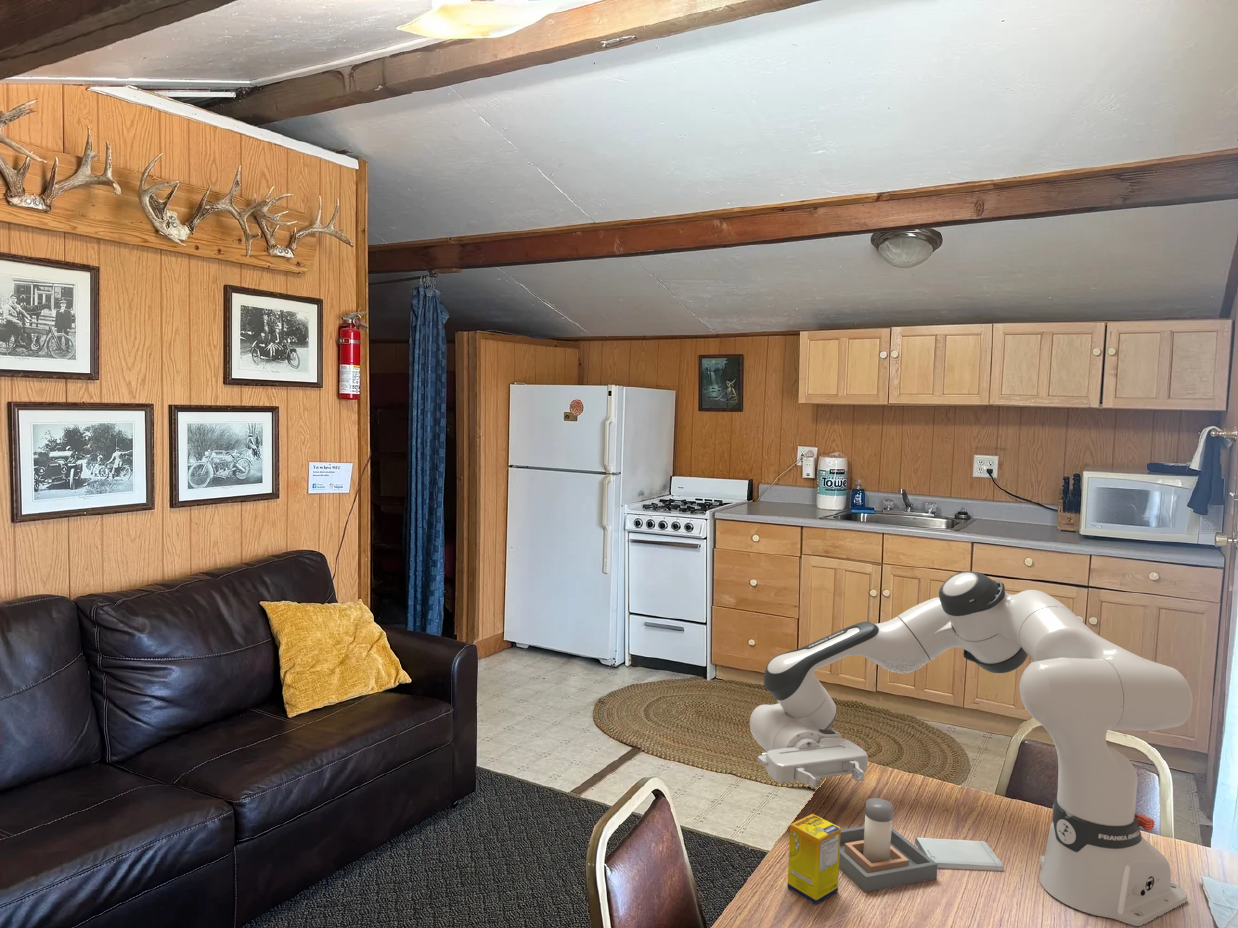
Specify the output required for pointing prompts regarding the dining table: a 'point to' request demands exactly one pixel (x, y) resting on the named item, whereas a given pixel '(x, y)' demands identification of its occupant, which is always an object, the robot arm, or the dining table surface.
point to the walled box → (896, 872)
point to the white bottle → (877, 830)
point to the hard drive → (960, 854)
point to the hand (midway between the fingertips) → (839, 780)
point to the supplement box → (814, 858)
